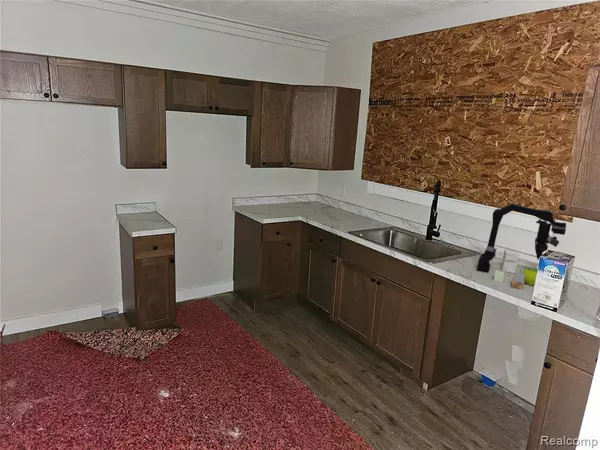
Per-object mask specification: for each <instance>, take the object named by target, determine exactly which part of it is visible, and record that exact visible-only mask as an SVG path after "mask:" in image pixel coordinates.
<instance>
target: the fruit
mask: <svg viewBox="0 0 600 450" xmlns="http://www.w3.org/2000/svg"><path fill="white" fill-rule="evenodd" d="M523 269H524V270H523V272H522V273H523V274H525V278H524V281H525V282H524V284H526V285H529V286H534V283H535V278H536V274H537V270H538V269H539V268H533V267H532V268H530V267H527V266H523Z"/></svg>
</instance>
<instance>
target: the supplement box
mask: <svg viewBox="0 0 600 450" xmlns="http://www.w3.org/2000/svg"><path fill="white" fill-rule="evenodd" d="M502 257H503V258H502V261H501V267H500V269H501V271H502V272H505V273H511V274H515V272H516V269H517V264H518V259H519V252H518V251H515V250H514V251H513V250H508V249H504V252H503V255H502Z"/></svg>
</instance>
